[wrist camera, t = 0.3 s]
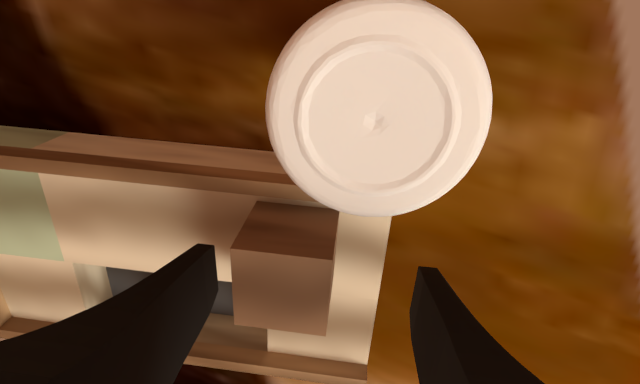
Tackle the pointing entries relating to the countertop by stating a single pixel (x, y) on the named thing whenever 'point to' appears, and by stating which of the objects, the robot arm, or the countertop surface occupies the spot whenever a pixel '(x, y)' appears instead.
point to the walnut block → (284, 268)
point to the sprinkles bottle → (378, 106)
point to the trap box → (167, 243)
